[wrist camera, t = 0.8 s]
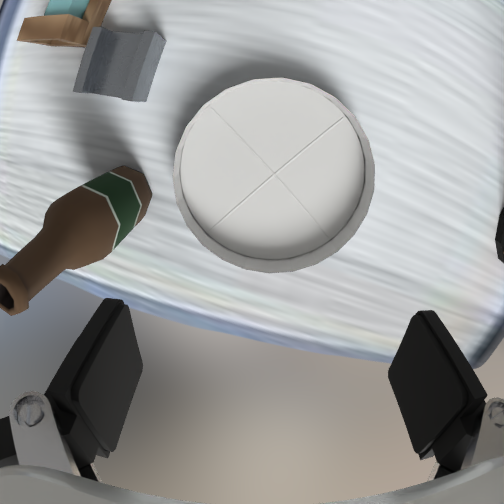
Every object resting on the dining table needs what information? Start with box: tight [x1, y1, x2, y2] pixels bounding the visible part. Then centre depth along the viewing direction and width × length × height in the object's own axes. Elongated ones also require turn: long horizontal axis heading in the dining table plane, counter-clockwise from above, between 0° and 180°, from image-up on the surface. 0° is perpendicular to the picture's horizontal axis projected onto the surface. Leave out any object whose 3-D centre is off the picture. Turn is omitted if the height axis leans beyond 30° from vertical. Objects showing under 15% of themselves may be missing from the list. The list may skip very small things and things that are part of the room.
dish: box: [173, 78, 375, 273], centre depth 33 cm, size 22×22×5 cm
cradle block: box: [73, 27, 166, 102], centre depth 27 cm, size 8×8×5 cm
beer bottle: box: [0, 166, 152, 316], centre depth 25 cm, size 8×8×24 cm
